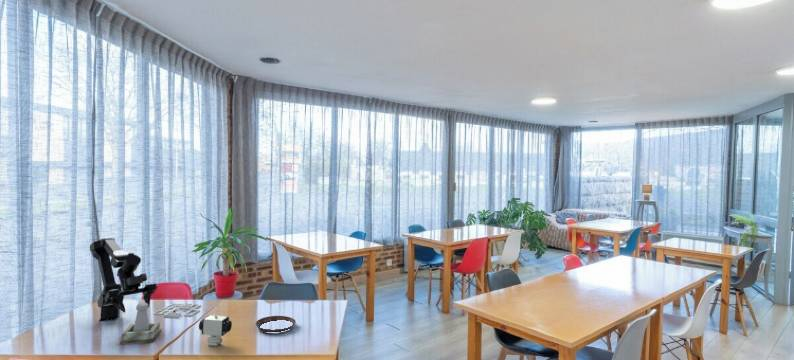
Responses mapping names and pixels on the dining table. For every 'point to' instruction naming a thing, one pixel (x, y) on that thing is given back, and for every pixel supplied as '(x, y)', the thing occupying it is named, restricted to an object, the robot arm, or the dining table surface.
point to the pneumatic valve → (215, 328)
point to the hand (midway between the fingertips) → (136, 309)
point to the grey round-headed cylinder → (141, 318)
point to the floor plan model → (183, 307)
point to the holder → (140, 334)
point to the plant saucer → (274, 318)
